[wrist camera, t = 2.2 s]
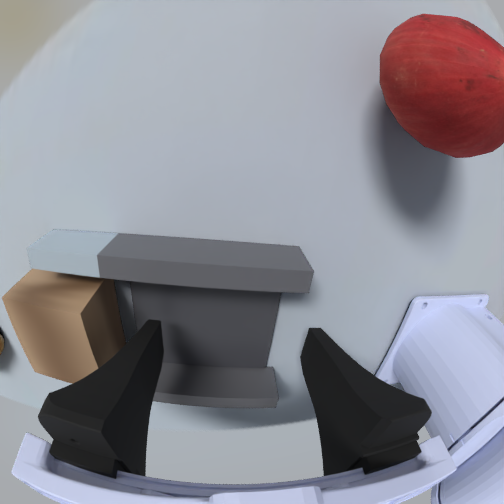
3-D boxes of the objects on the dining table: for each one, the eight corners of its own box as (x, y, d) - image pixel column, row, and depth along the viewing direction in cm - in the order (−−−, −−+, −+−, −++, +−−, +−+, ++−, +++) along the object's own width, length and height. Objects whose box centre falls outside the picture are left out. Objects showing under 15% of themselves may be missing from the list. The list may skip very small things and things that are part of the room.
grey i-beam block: (299, 246, 13) (313, 271, 10) (270, 377, 16) (275, 407, 14) (53, 229, 11) (26, 248, 9) (84, 357, 15) (72, 383, 12)
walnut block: (113, 268, 13) (80, 313, 9) (126, 342, 15) (107, 392, 11) (41, 261, 12) (1, 297, 8) (60, 330, 14) (34, 371, 10)
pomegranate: (348, 23, 8) (459, -48, 1) (439, 61, 9) (555, 51, 2) (344, 134, 11) (490, 150, 3) (436, 157, 11) (560, 197, 4)
